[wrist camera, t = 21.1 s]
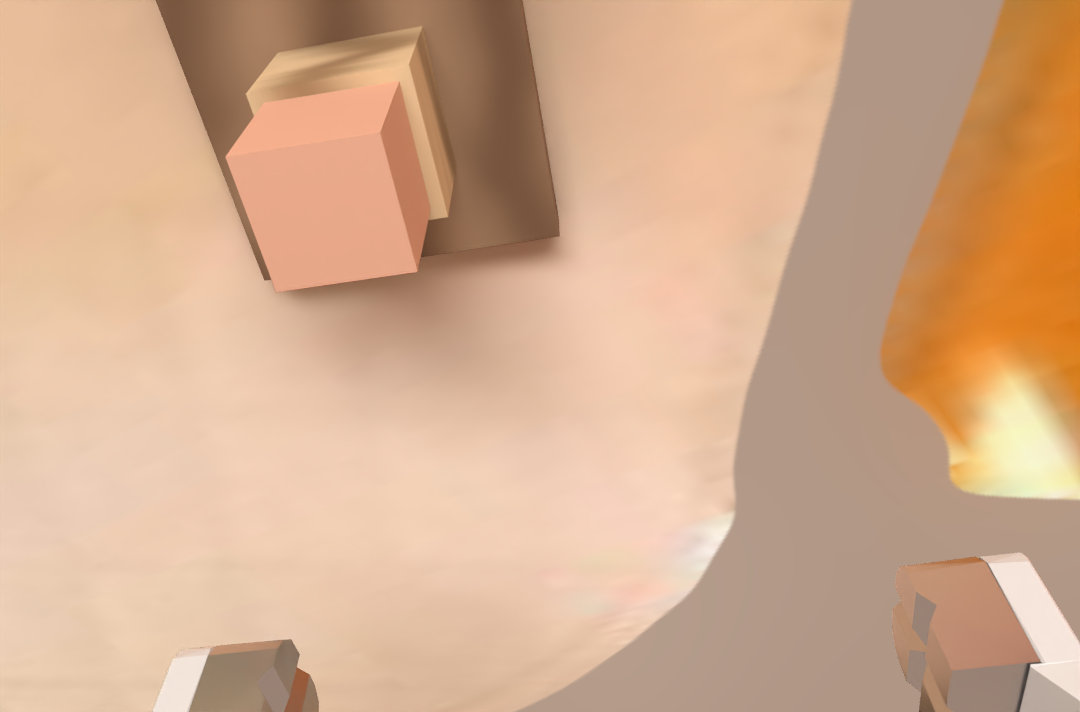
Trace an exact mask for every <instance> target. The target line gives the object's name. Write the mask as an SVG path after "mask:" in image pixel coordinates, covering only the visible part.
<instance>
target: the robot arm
mask: <svg viewBox="0 0 1080 712" xmlns="http://www.w3.org/2000/svg"><path fill="white" fill-rule="evenodd" d="M895 587H896V590H897V592H898V595H899V597H900V599H901V601H900V603H899V604H897V605H896V606H895V607H894V608H893V617H892V629H893V636H894V644H895V649H896V652H897V655H898V659H899V663H900V665H901V668H902V671H903V673H904V676H905V678H906V681H907V682H908V683H910V684H911V685H912V686H914V687H915V688H916V689H918V690H919V691H920V692H921V697H920V706H919V712H1080V642H1079V640H1078V639H1077V637H1076V635H1075V634H1074V632H1073V630H1072V629H1071V627H1070V626H1069V624H1068V622H1067V621H1066V619H1065V617H1064V616H1063V614H1062V612H1061V611H1060V609H1059V608H1058V606H1057V605H1056V603H1055V601H1054V599H1053V598H1052V596H1051V595H1050V593H1049V591H1048V590H1047V588H1046V587H1045V585H1044V583H1043V582H1042V580H1041V579H1040V577H1039V575H1038V574H1037V572H1036V570H1035V569H1034V567H1033V565H1032V564H1031V562H1030V561H1029V559H1028V558H1027V557H1026V556H1024V555H1023V554H1022V553H1021V552H1019V553H1011V554H1002V555H993V556H985V557H979V558H977V557H970V558H963V559H954V560H947V561H939V562H931V563H923V564H916V565H908V566H901V567H899V569H898V571H897V572H896V580H895ZM299 655H300V654H299V652H298V651H297V649H296V647H295V645H294V644H293V642H292V640H276V641H265V642H254V643H242V644H231V645H220V646H211V647H201V648H192V649H182V650H181V651H180V652H179V653H178V654H177V655H176V656H175V657H174V659H173V660H172V662H171V664H170V667H169V669H168V672H167V674H166V677H165V680H164V682H163V685H162V687H161V690H160V692H159V695H158V698H157V700H156V703H155V705H154V708H153V710H152V712H319V701H318V697H317V692H316V688H315V685H314V683H313V681H312V679H311V676H310V675H309V674H307V673H306V672H304V671H302V670H300V669H299V668H297V663H298V659H299Z"/></svg>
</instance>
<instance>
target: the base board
mask: <svg viewBox="0 0 1080 712" xmlns="http://www.w3.org/2000/svg"><path fill="white" fill-rule="evenodd" d="M156 2H157V4H158V7H159V10H160V12H161V15H162V17H163V20H164V22H165V25H166V28H167V30H168V33H169V35H170V38H171V40H172V43H173V46H174V48H175V51H176V53H177V56H178V59H179V61H180V64H181V66H182V69H183V71H184V74H185V77H186V79H187V82H188V84H189V87H190V90H191V92H192V95H193V97H194V100H195V102H196V105H197V108H198V110H199V113H200V115H201V118H202V120H203V123H204V126H205V128H206V131H207V133H208V136H209V139H210V141H211V144H212V146H213V149H214V151H215V154H216V157H217V159H218V162H219V164H220V167H221V169H222V172H223V175H224V177H225V180H226V182H227V185H228V188H229V190H230V193H231V195H232V198H233V200H234V203H235V206H236V208H237V211H238V213H239V216H240V218H241V221H242V224H243V226H244V229H245V231H246V234H247V237H248V239H249V242H250V244H251V247H252V249H253V252H254V255H255V257H256V260H257V262H258V265H259V267H260V270H261V273H262V275H263V278H264V280H271V277H270V274H269V272H268V269H267V266H266V264H265V261H264V258H263V256H262V253H261V250H260V248H259V245H258V242H257V240H256V237H255V234H254V232H253V229H252V226H251V224H250V221H249V219H248V216H247V213H246V211H245V208H244V205H243V203H242V200H241V197H240V195H239V192H238V189H237V187H236V184H235V181H234V179H233V176H232V173H231V171H230V168H229V165H228V163H227V160H226V155H227V154H228V152H229V151H230V150H231V148H232V147H233V145H234V144H235V143H236V141H237V140H238V138H239V137H240V136H241V134H242V133H243V131H244V130H245V129H246V127H247V126H248V124H249V123H250V121H251V120H252V119H253V117H254V115H253V112H252V109H251V107H250V104H249V101H248V98H247V96H246V93H247V92H248V90H249V89H250V88H251V86H252V85H253V84H254V83H255V81H256V80H257V79H258V77H259V76H260V75H261V74H262V72H263V71H264V70H265V69H266V67H267V66H268V65H269V63H270V62H271V61H272V60H273V58H274V57H275V56H276V54H277V53H279V52H284V51H290V50H295V49H301V48H306V47H311V46H317V45H322V44H328V43H333V42H339V41H344V40H349V39H355V38H360V37H366V36H371V35H376V34H382V33H387V32H393V31H398V30H403V29H409V28H414V27H420V26H423V29H424V34H425V38H426V42H427V46H428V50H429V54H430V58H431V62H432V67H433V71H434V75H435V79H436V83H437V87H438V91H439V96H440V100H441V104H442V108H443V112H444V116H445V120H446V125H447V129H448V133H449V137H450V141H451V145H452V149H453V153H454V158H455V162H456V172H455V178H454V184H453V190H452V196H451V202H450V208H449V214H448V217H445V218H439V219H433V220H428V224H427V229H426V234H425V238H424V243H423V248H422V253H421V257H425V256H431V255H438V254H445V253H451V252H458V251H465V250H471V249H478V248H484V247H491V246H498V245H504V244H511V243H518V242H524V241H531V240H538V239H544V238H551V237H558V236H559V219H558V212H557V206H556V200H555V194H554V188H553V182H552V176H551V170H550V164H549V158H548V152H547V146H546V140H545V134H544V128H543V122H542V116H541V110H540V103H539V97H538V91H537V85H536V79H535V73H534V67H533V61H532V55H531V49H530V43H529V37H528V31H527V25H526V19H525V13H524V7H523V1H522V0H156Z"/></svg>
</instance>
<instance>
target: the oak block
mask: <svg viewBox="0 0 1080 712" xmlns="http://www.w3.org/2000/svg"><path fill="white" fill-rule="evenodd" d="M396 81H399V82H400V86H401V90H402V94H403V98H404V102H405V106H406V110H407V114H408V118H409V122H410V126H411V130H412V134H413V138H414V142H415V147H416V151H417V155H418V159H419V163H420V167H421V171H422V175H423V179H424V183H425V187H426V191H427V195H428V199H429V203H430V207H431V209H430V214H429V219H428V220H433V219H439V218H445V217H448V214H449V208H450V202H451V196H452V190H453V184H454V178H455V172H456V162H455V158H454V153H453V149H452V145H451V141H450V137H449V133H448V129H447V125H446V120H445V116H444V112H443V108H442V104H441V100H440V96H439V91H438V87H437V83H436V79H435V75H434V71H433V67H432V62H431V58H430V54H429V50H428V46H427V42H426V38H425V34H424V29H423V26H420V27H414V28H409V29H403V30H398V31H393V32H387V33H382V34H376V35H371V36H366V37H360V38H355V39H349V40H344V41H339V42H333V43H328V44H322V45H317V46H311V47H306V48H301V49H295V50H290V51H284V52H279V53H277V54H276V56H275V57H274V58H273V60H272V61H271V62H270V63H269V65H268V66H267V67H266V69H265V70H264V71H263V72H262V74H261V75H260V76H259V77H258V79H257V80H256V81H255V83H254V84H253V85H252V86H251V88H250V89H249V90H248V92H247V93H246V96H247V98H248V101H249V104H250V107H251V109H252V112H253V115H254V116H255V114H256V113H257V112H258V110H259V109H260V107H261V106H262V105H263V103H266V102H272V101H279V100H285V99H291V98H297V97H303V96H309V95H316V94H322V93H328V92H334V91H340V90H346V89H353V88H359V87H365V86H371V85H377V84H383V83H390V82H396Z"/></svg>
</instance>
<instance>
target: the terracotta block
mask: <svg viewBox="0 0 1080 712" xmlns="http://www.w3.org/2000/svg"><path fill="white" fill-rule="evenodd" d="M226 160H227V163H228V165H229V168H230V171H231V173H232V176H233V179H234V181H235V184H236V187H237V189H238V192H239V195H240V197H241V200H242V203H243V205H244V208H245V211H246V213H247V216H248V219H249V221H250V224H251V226H252V229H253V232H254V234H255V237H256V240H257V242H258V245H259V248H260V250H261V253H262V256H263V258H264V261H265V264H266V266H267V269H268V272H269V274H270V277H271V280H272V282H273V285H274V288H275V290H276V292H281V291H288V290H295V289H302V288H309V287H316V286H323V285H330V284H337V283H344V282H351V281H357V280H364V279H371V278H378V277H385V276H392V275H399V274H406V273H413V272H418V268H419V263H420V258H421V253H422V248H423V243H424V238H425V234H426V229H427V224H428V219H429V214H430V209H431V207H430V203H429V199H428V195H427V191H426V187H425V183H424V179H423V175H422V171H421V167H420V163H419V159H418V155H417V151H416V147H415V142H414V138H413V134H412V130H411V126H410V122H409V118H408V114H407V110H406V106H405V102H404V98H403V94H402V90H401V86H400V82H399V81H396V82H390V83H383V84H377V85H371V86H365V87H359V88H353V89H346V90H340V91H334V92H328V93H322V94H316V95H309V96H303V97H297V98H291V99H285V100H279V101H272V102H266V103H263V105H262V106H261V107H260V109H259V110H258V112H257V113H256V114H255V116H254V117H253V119H252V120H251V121H250V123H249V124H248V126H247V127H246V129H245V130H244V131H243V133H242V134H241V136H240V137H239V138H238V140H237V141H236V143H235V144H234V145H233V147H232V148H231V150H230V151H229V152H228V154H227V155H226Z"/></svg>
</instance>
